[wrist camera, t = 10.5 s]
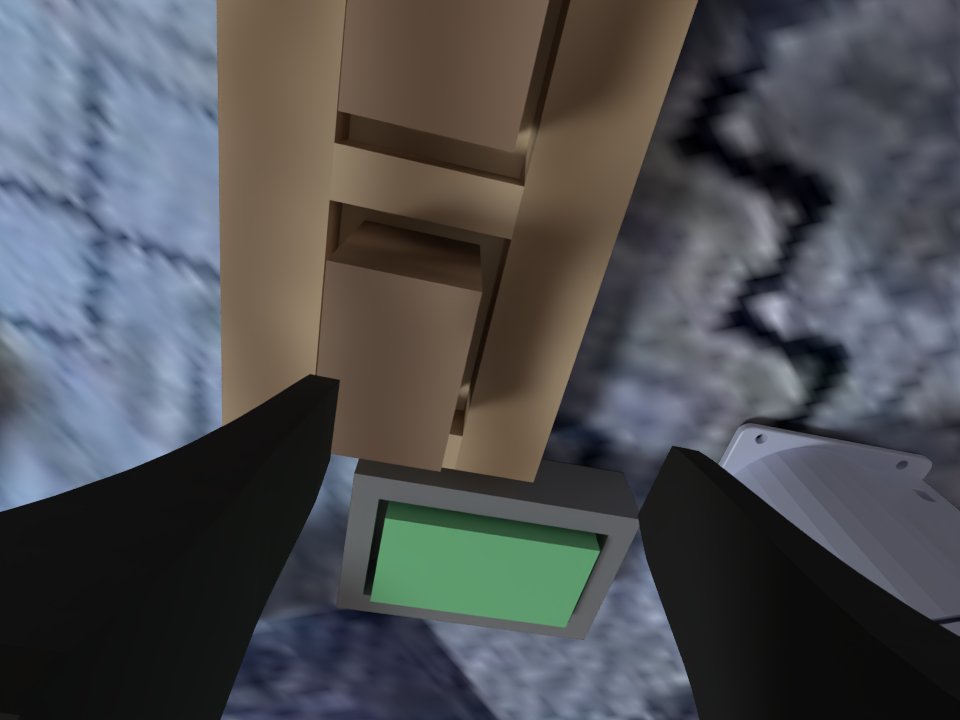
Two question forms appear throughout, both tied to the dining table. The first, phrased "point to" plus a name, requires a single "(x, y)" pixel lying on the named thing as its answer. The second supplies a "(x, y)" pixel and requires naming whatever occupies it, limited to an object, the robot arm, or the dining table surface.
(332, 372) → the seated walnut block
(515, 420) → the wooden stepped tray
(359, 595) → the button console
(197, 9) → the dining table surface
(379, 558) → the button
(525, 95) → the walnut block
